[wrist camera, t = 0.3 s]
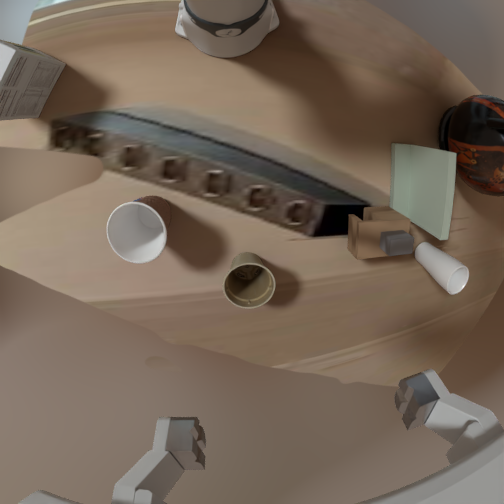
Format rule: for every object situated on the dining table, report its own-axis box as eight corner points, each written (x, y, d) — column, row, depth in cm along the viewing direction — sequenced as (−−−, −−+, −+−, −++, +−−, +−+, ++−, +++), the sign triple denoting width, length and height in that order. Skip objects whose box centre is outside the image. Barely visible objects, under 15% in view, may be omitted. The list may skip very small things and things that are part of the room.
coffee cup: (144, 176, 51) (122, 189, 40) (189, 204, 54) (178, 224, 43) (121, 220, 54) (97, 243, 43) (163, 246, 57) (148, 274, 46)
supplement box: (67, 63, 39) (17, 49, 23) (38, 119, 43) (-16, 123, 27) (33, 46, 36) (-16, 35, 20) (7, 98, 39) (-44, 100, 23)
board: (391, 143, 51) (432, 150, 38) (414, 144, 51) (456, 153, 38) (388, 217, 57) (424, 241, 44) (410, 216, 57) (447, 239, 45)
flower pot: (226, 241, 57) (225, 260, 49) (273, 246, 58) (280, 266, 50) (221, 283, 61) (220, 306, 53) (265, 287, 62) (270, 310, 54)
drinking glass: (419, 234, 59) (458, 261, 46) (436, 243, 61) (474, 271, 47) (406, 259, 62) (441, 290, 48) (423, 267, 63) (458, 298, 49)
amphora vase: (493, 128, 49) (576, 148, 23) (468, 198, 56) (550, 240, 31) (443, 76, 44) (538, 72, 19) (414, 154, 52) (513, 183, 26)
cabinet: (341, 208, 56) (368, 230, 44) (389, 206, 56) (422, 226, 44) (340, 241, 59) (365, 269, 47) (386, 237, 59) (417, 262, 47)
